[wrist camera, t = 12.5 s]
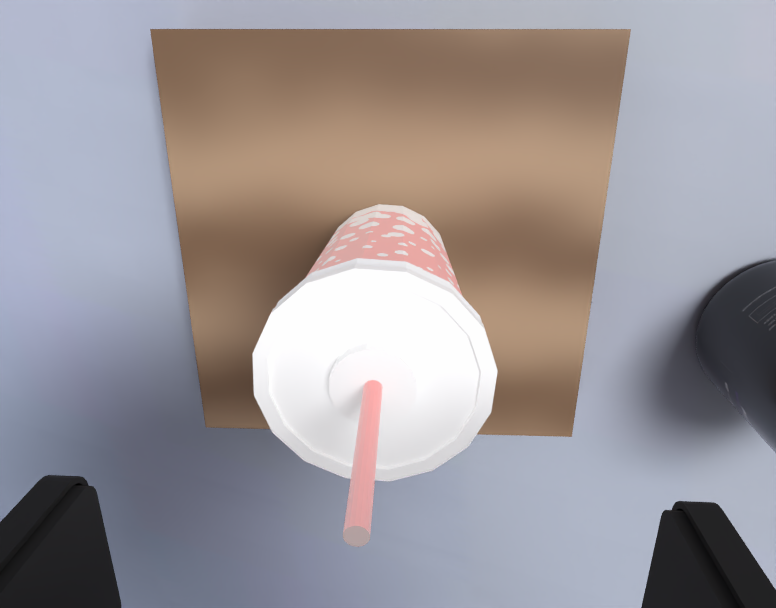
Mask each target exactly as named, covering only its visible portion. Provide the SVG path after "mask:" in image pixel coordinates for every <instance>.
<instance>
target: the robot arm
mask: <svg viewBox="0 0 776 608" xmlns="http://www.w3.org/2000/svg"><path fill="white" fill-rule="evenodd" d="M0 608H121V600H120V596H119V591H118V587H117V582H116V578H115V573H114V569H113V564H112V560H111V555H110V551H109V546H108V542H107V537H106V532H105V528H104V523H103V519H102V514H101V510H100V505H99V501H98V496H97V492H96V490H95V488H94V487H93V486H88V483H87V481H86V480H85V479H84V478H83V477H80V476H57V475H48V476H45V477H43V478H42V479H41V480H39V481H38V482H37V483H36V484H35V486H34V487H33V488H32V489H31V490H30V491H29V492H28V493H27V494H26V495H25V496H24V497H23V498H22V500H21V501H20V502H19V503H18V504H17V505H16V506H15V507H14V508H13V509H12V510H11V511H10V512H9V514H8V515H7V516H6V517H5V518H4V519H3V520H2V521H1V522H0ZM641 608H776V590H775V588H774V587H773V585H772V584H771V582H770V581H769V579H768V578H767V576H766V575H765V573H764V572H763V570H762V569H761V567H760V566H759V564H758V563H757V561H756V560H755V558H754V557H753V555H752V554H751V552H750V551H749V549H748V548H747V546H746V545H745V543H744V542H743V540H742V539H741V537H740V536H739V534H738V533H737V531H736V530H735V528H734V527H733V525H732V523H731V522H730V520H729V519H728V517H727V516H726V514H725V513H724V511H723V510H722V509H721V508H720V506H719V505H718V504H716V503H711V502H687V501H678V502H676V503H675V504H674V505H673V508H672V510H665V511H664V512H663V513H662V516H661V520H660V524H659V529H658V534H657V538H656V543H655V547H654V552H653V557H652V561H651V566H650V571H649V575H648V580H647V584H646V589H645V594H644V598H643V603H642V607H641Z"/></svg>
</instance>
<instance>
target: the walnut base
mask: <svg viewBox="0 0 776 608" xmlns="http://www.w3.org/2000/svg"><path fill="white" fill-rule="evenodd" d="M150 31H151V38H152V45H153V53H154V60H155V67H156V74H157V81H158V88H159V96H160V103H161V110H162V117H163V124H164V131H165V139H166V146H167V153H168V160H169V167H170V174H171V182H172V189H173V196H174V203H175V210H176V217H177V225H178V232H179V239H180V246H181V253H182V260H183V268H184V275H185V282H186V289H187V296H188V303H189V311H190V318H191V325H192V332H193V339H194V346H195V354H196V361H197V368H198V375H199V382H200V389H201V397H202V404H203V411H204V418H205V425H206V427H211V428H251V429H270V427H269V425H268V423H267V421H266V419H265V417H264V415H263V413H262V411H261V409H260V407H259V405H258V403H257V401H256V399H255V397H254V384H253V351H254V349H255V347H256V345H257V342H258V340H259V338H260V336H261V334H262V331H263V329H264V327H265V325H266V322H267V320H268V318H269V316H270V314H271V312H272V310H273V309H274V308H275V307H276V305H277V303H278V301H279V300H281V299H282V298H283V297H284V296H285V295H286V294H288V293H289V292H290V291H291V290H292V289H293V288H294V287H296V286H297V285H298V284H299V283H300V282H301V281H303V280H304V279H305V278H306V276H307V275H308V273H309V271H310V270H311V268H312V267H313V265H314V264H315V262H316V261H317V259H318V258H319V256H320V255H321V253H322V252H323V250H324V249H325V247H326V246H327V244H328V242H329V241H330V239H331V238H332V236H333V235H334V233H335V232H336V230H337V229H338V227H339V226H340V225H341V224H343V223H344V222H345V221H346V220H347V219H348V218H349V217H351V216H352V215H353V214H354V213H355V212H357V211H360V210H363V209H366V208H369V207H372V206H375V205H378V204H382V205H396V206H404V207H406V208H408V209H410V210H412V211H414V212H416V213H418V214H420V215H422V216H424V217H425V218H426V219H427V220H428V221H429V222H430V224H431V225H432V226H433V227H434V228H435V229H436V230H437V232H438V233H439V234H440V236H441V239H442V242H443V244H444V247H445V250H446V253H447V255H448V258H449V261H450V263H451V266H452V269H453V272H454V274H455V277H456V280H457V283H458V285H459V288H460V291H461V294H462V296H463V297H464V299H465V300H466V301H467V302H468V303H469V304H470V305H471V306H472V308H473V309H474V310H475V311H476V312H477V313H478V314H479V315H480V318H481V321H482V323H483V325H484V328H485V331H486V335H487V338H488V341H489V344H490V347H491V351H492V354H493V357H494V360H495V364H496V367H497V371H498V372H497V378H496V385H495V391H494V398H493V404H492V411H491V414H490V415H489V416H488V418H487V419H486V421H485V422H484V424H483V425H482V427H481V428H480V430H479V431H478V433H477V434H487V435H527V436H566V437H572V430H573V424H574V417H575V410H576V403H577V396H578V389H579V382H580V375H581V368H582V362H583V355H584V348H585V341H586V334H587V327H588V320H589V313H590V306H591V300H592V293H593V286H594V279H595V272H596V265H597V258H598V251H599V244H600V238H601V231H602V224H603V217H604V210H605V203H606V196H607V189H608V182H609V176H610V169H611V162H612V155H613V148H614V141H615V134H616V127H617V120H618V114H619V107H620V100H621V93H622V86H623V79H624V72H625V65H626V58H627V52H628V45H629V38H630V31H631V29H150Z"/></svg>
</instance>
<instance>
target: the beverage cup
mask: <svg viewBox="0 0 776 608" xmlns="http://www.w3.org/2000/svg"><path fill="white" fill-rule="evenodd" d="M497 372H498V371H497V367H496V364H495V360H494V357H493V354H492V351H491V347H490V344H489V341H488V338H487V335H486V331H485V328H484V325H483V323H482V321H481V318H480V315H479V314H478V313H477V312H476V311H475V310H474V309H473V308H472V306H471V305H470V304H469V303H468V302H467V301H466V300H465V299H464V297H463V296H462V294H461V291H460V288H459V285H458V283H457V280H456V277H455V274H454V272H453V269H452V266H451V263H450V261H449V258H448V255H447V253H446V250H445V247H444V244H443V242H442V239H441V236H440V234H439V233H438V232H437V230H436V229H435V228H434V227H433V226H432V225H431V224H430V222H429V221H428V220H427V219H426V218H425V217H424V216H422V215H420V214H418V213H416V212H414V211H412V210H410V209H408V208H406V207H404V206H396V205H382V204H378V205H375V206H372V207H369V208H366V209H363V210H360V211H357V212H355V213H354V214H353V215H352V216H351V217H349V218H348V219H347V220H346V221H345V222H344V223H343V224H341V225H340V226H339V227H338V229H337V230H336V232H335V233H334V235H333V236H332V238H331V239H330V241H329V242H328V244H327V246H326V247H325V249H324V250H323V252H322V253H321V255H320V256H319V258H318V259H317V261H316V262H315V264H314V265H313V267H312V268H311V270H310V271H309V273H308V275H307V276H306V278H305V279H304V280H303V281H301V282H300V283H299V284H298V285H297V286H296V287H294V288H293V289H292V290H291V291H290V292H289V293H288V294H286V295H285V296H284V297H283V298H282V299H281V300H279V301H278V303H277V305H276V307H275V308H274V309H273V310H272V312H271V314H270V316H269V318H268V320H267V322H266V325H265V327H264V329H263V331H262V334H261V336H260V338H259V340H258V342H257V345H256V347H255V349H254V351H253V384H254V397H255V399H256V401H257V403H258V405H259V407H260V409H261V411H262V413H263V415H264V417H265V419H266V421H267V423H268V425H269V427H270V429H271V431H272V433H273V434H275V435H276V436H277V437H278V438H279V439H280V440H281V441H282V442H284V443H285V444H286V445H287V446H288V447H289V448H290V449H291V450H293V451H294V452H295V453H296V454H297V455H298V456H299V457H300V458H301V459H303V460H304V461H305V462H307V463H310V464H312V465H315V466H317V467H320V468H322V469H324V470H327V471H329V472H332V473H334V474H337V475H339V476H342V477H344V478H350V479H351V480H350V488H349V495H348V502H347V509H346V516H345V523H344V530H343V538H344V541H345V542H346V543H347V544H349V545H351V546H356V547H359V546H364V545H365V544H367V543H368V541H369V540H370V532H371V520H372V508H373V496H374V484H375V480H377V481H394V480H398V479H402V478H406V477H410V476H414V475H418V474H422V473H426V472H430V471H433V470H434V469H436V468H437V467H439V466H440V465H442V464H443V463H445V462H446V461H448V460H449V459H451V458H452V457H454V456H455V455H457V454H458V453H460V452H461V451H463V450H464V449H466V448H467V447H468V446H469V445H470V443H471V442H472V440H473V439H474V437H475V436H476V434H477V433H478V431H479V430H480V428H481V427H482V425H483V424H484V422H485V421H486V419H487V418H488V416H489V415H490V414H491V411H492V404H493V398H494V391H495V385H496V378H497Z"/></svg>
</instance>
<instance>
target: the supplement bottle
mask: <svg viewBox="0 0 776 608" xmlns="http://www.w3.org/2000/svg"><path fill="white" fill-rule="evenodd" d="M696 352H697V356H698V360H699V362H700V365H701V367H702V369H703V370H704V372H705V374H706V375H707V376H708V378H709V379H710V380H711V381H712V382H713V384H714V385H715V386H716V387H717V388H718V390H719V391H720V392H721V393H722V394H723V395H724V396H725V397H726V398H727V400H728V401H729V402H730V403H731V404H732V405H733V406H734V407H735V408H736V409H737V411H738V412H739V413H740V414H741V415H742V416H743V417H744V418H745V419H746V421H747V422H748V423H749V424H750V425H751V426H752V427H753V428H754V429H755V430H756V432H757V433H758V434H759V435H760V436H761V437H762V438H763V439H764V440H765V442H766V443H767V444H768V445H769V446H770V447H771V448H772V449H773V450H774V451H775V453H776V260H775V261H770V262H766V263H763V264H760V265H757V266H754V267H752V268H750V269H748V270H746V271H744V272H742V273H740V274H739V275H737V276H736V277H734V278H733V279H731V280H730V281H729V282H727V283H726V284H725V285H724V286H723V287H722V288H721V289H720V290H719V291H718V292H717V293H716V294H715V295H714V296H713V298H712V299H711V300H710V301H709V303H708V305H707V306H706V308H705V310H704V311H703V313H702V316H701V318H700V321H699V324H698V327H697V333H696Z"/></svg>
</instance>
